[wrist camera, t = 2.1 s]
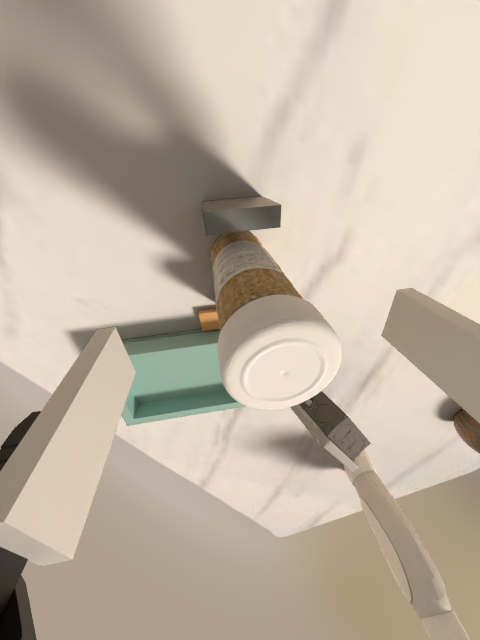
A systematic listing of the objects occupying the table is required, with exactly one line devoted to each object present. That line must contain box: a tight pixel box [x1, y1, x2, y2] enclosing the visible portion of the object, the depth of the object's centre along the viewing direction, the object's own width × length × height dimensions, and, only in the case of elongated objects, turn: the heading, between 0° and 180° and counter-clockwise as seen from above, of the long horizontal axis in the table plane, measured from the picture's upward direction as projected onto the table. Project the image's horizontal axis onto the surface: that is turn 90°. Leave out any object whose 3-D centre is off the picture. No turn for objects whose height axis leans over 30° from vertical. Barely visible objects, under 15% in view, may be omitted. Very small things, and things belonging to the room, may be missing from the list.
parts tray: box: [121, 329, 245, 426], centre depth 24 cm, size 10×14×2 cm
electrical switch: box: [291, 391, 371, 472], centre depth 27 cm, size 9×5×9 cm, turn 36°
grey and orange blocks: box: [199, 196, 281, 331], centre depth 18 cm, size 11×8×5 cm
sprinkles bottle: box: [211, 231, 342, 410], centre depth 14 cm, size 5×5×13 cm
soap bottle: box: [344, 450, 470, 640], centre depth 35 cm, size 13×8×24 cm, turn 12°
